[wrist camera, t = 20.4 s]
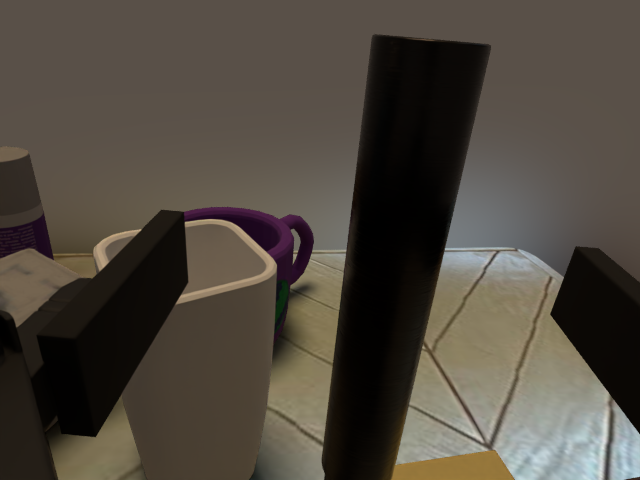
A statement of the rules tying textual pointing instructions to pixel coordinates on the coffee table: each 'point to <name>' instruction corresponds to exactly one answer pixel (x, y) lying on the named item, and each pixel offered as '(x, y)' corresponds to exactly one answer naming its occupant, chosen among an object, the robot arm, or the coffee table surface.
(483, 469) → the butter
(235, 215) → the mug
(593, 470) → the coffee table surface
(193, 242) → the cup
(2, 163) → the container
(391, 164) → the knife
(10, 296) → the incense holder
